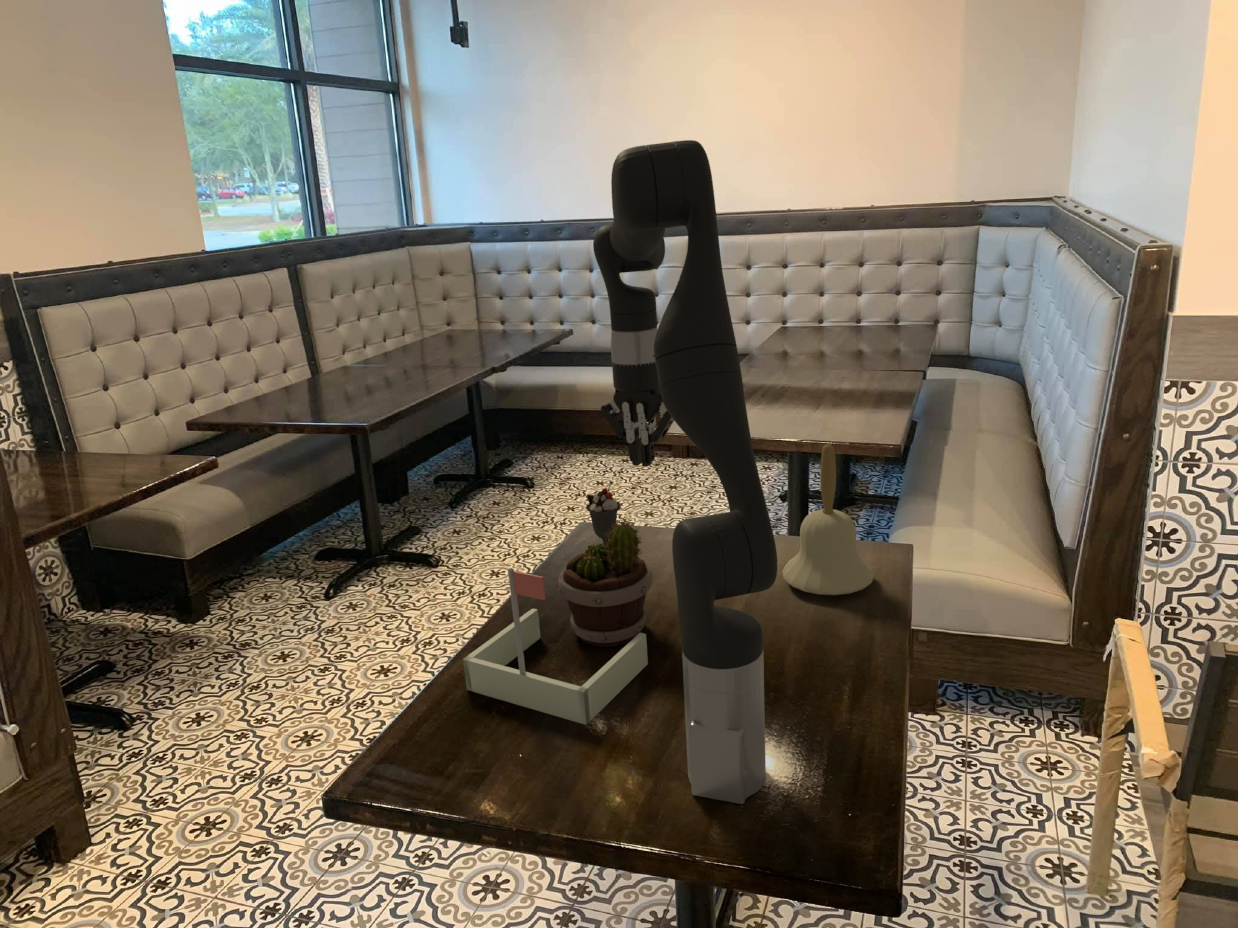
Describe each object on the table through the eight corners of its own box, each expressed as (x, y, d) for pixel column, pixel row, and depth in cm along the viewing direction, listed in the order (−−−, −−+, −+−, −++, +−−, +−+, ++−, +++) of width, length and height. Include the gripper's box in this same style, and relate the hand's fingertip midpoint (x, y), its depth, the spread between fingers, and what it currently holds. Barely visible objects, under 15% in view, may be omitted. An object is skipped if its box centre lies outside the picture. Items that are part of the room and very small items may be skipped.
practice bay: (535, 636, 143) (522, 515, 137) (647, 663, 133) (639, 534, 127) (466, 689, 130) (448, 557, 123) (586, 724, 119) (573, 582, 113)
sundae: (629, 557, 170) (624, 483, 166) (596, 565, 168) (590, 489, 164) (617, 545, 176) (611, 473, 172) (584, 552, 174) (578, 479, 169)
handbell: (767, 592, 153) (765, 452, 145) (802, 558, 165) (801, 427, 157) (856, 610, 145) (858, 463, 137) (886, 573, 156) (889, 436, 149)
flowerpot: (551, 653, 138) (539, 533, 132) (579, 607, 152) (569, 497, 146) (644, 659, 134) (635, 536, 128) (663, 612, 149) (656, 498, 142)
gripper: (585, 360, 138) (594, 467, 144) (663, 364, 132) (669, 476, 137) (610, 351, 144) (618, 453, 150) (686, 354, 138) (691, 462, 143)
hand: (642, 464), depth 143 cm, fingers closed
